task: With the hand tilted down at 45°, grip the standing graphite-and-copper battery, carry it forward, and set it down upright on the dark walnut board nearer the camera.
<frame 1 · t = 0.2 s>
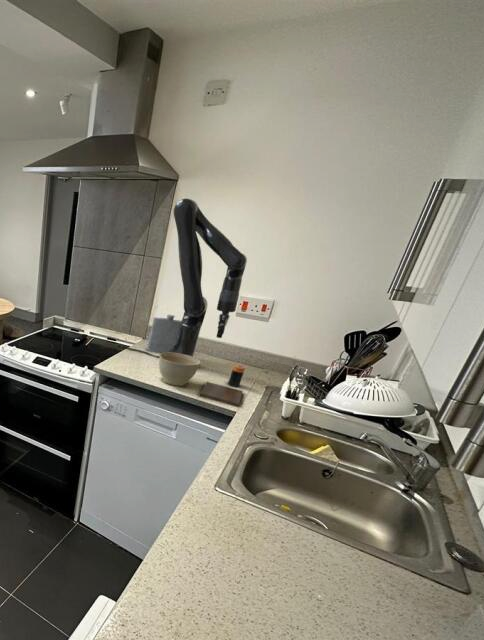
hand: (219, 335, 179), 17 cm above the worktop, tool pointing down, fingers open, 8 cm apart
battery: (233, 385, 171), on the worktop
walnut board: (221, 394, 160), on the worktop
planter bowl: (173, 382, 169), on the worktop
hip flask: (161, 352, 208), on the worktop
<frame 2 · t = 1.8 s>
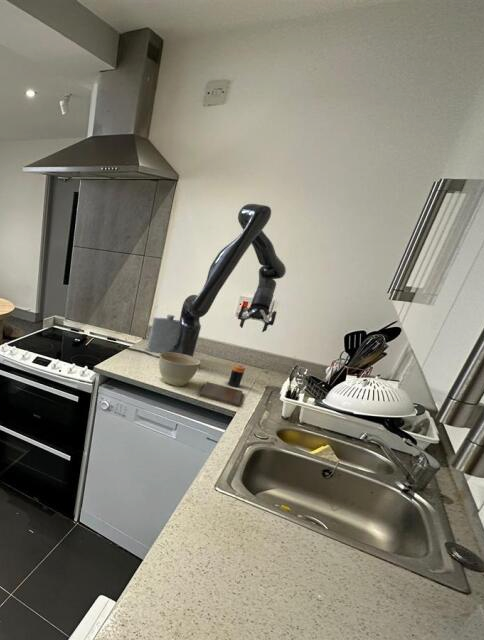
hand: (252, 328, 174), 23 cm above the worktop, tool tilted 45°, fingers open, 8 cm apart
nothing on the worktop moved.
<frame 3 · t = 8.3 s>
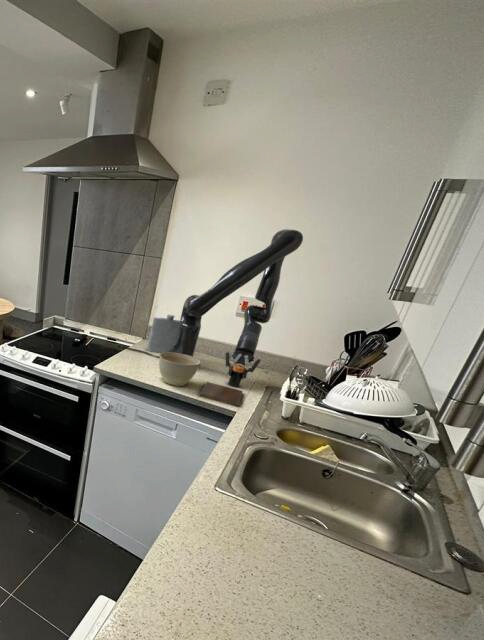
hand: (236, 376, 168), 5 cm above the worktop, tool tilted 45°, fingers closed on battery, 4 cm apart
battery: (233, 385, 171), on the worktop, touching gripper
everything else where it was.
when the fingers open (6 cm above the worktop, at t = 17.4 s): battery stays where it is, resting on walnut board.
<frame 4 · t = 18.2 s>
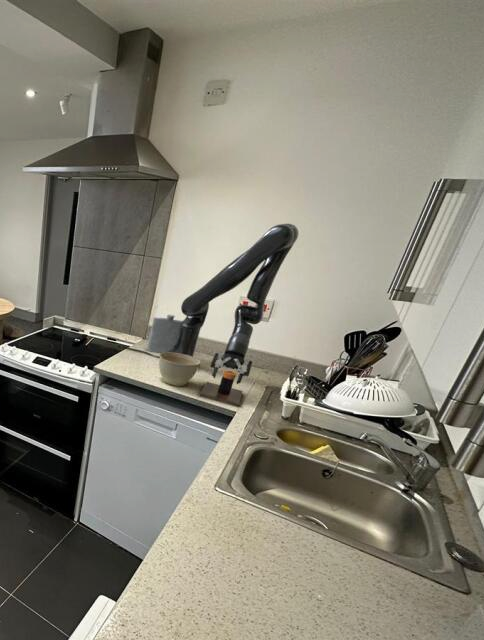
hand: (225, 379, 157), 7 cm above the worktop, tool tilted 45°, fingers open, 8 cm apart
battery: (223, 392, 159), point 1 cm above the worktop, touching walnut board
everything else where it was.
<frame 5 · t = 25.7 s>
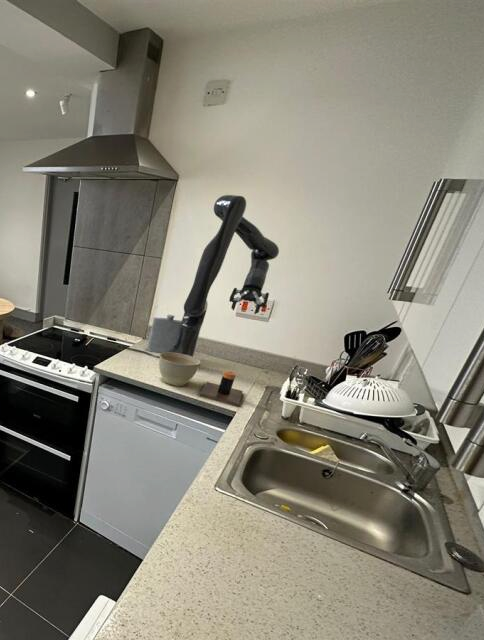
hand: (244, 311, 168), 31 cm above the worktop, tool tilted 45°, fingers open, 8 cm apart
nothing on the worktop moved.
at the end: battery inside the target area on the walnut board (0.6 cm from its centre), point 1.2 cm above the walnut board's base; battery tilted 0°; the gripper is holding nothing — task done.
